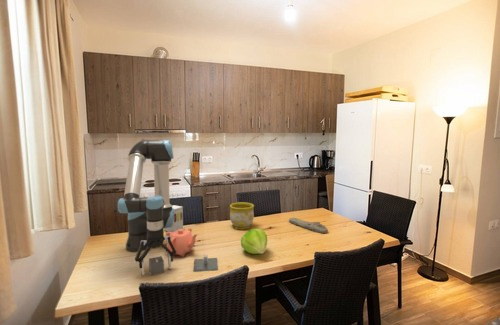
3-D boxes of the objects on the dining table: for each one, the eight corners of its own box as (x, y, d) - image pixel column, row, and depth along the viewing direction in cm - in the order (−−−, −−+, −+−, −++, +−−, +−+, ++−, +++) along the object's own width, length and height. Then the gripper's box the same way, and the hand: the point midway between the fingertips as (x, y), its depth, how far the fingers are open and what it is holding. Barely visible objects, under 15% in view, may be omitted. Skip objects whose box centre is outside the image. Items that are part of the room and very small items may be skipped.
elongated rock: (294, 221, 217) (285, 224, 211) (294, 215, 217) (285, 218, 211) (331, 231, 190) (322, 235, 184) (330, 224, 189) (322, 227, 183)
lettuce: (247, 262, 143) (247, 237, 142) (237, 247, 162) (237, 225, 161) (274, 258, 148) (274, 234, 147) (261, 244, 167) (261, 223, 166)
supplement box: (173, 233, 186) (172, 209, 185) (164, 230, 191) (163, 207, 189) (183, 229, 194) (183, 206, 193) (174, 227, 199) (173, 204, 197)
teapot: (191, 244, 166) (191, 223, 165) (199, 255, 151) (199, 232, 150) (164, 249, 159) (164, 227, 158) (170, 261, 144) (169, 237, 143)
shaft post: (194, 260, 145) (194, 252, 145) (216, 259, 147) (216, 250, 146) (193, 271, 133) (193, 262, 133) (217, 269, 135) (217, 260, 135)
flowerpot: (231, 222, 209) (231, 202, 208) (254, 223, 209) (254, 202, 207) (228, 230, 191) (228, 208, 190) (253, 231, 191) (253, 208, 189)
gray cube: (149, 270, 135) (148, 258, 134) (161, 267, 137) (161, 255, 137) (151, 275, 129) (150, 262, 129) (164, 272, 132) (163, 260, 132)
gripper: (128, 235, 122) (130, 280, 124) (182, 226, 134) (183, 268, 136) (127, 230, 129) (129, 273, 131) (178, 222, 140) (179, 262, 142)
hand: (156, 270), depth 133 cm, fingers open, 12 cm apart
